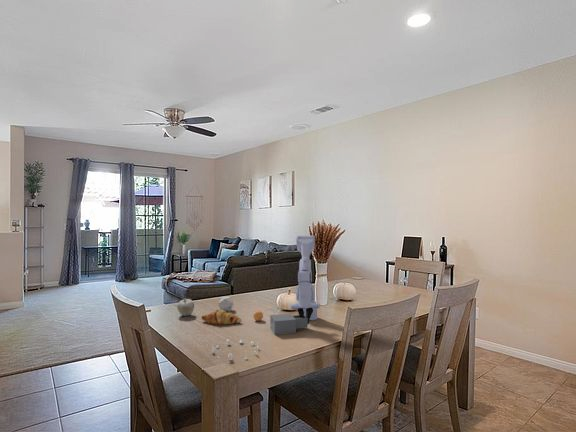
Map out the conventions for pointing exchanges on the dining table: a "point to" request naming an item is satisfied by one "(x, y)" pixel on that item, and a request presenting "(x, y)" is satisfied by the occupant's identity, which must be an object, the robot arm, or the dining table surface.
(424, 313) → the dining table surface
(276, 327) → the grey stepped block
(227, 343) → the game piece set
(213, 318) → the croissant
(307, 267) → the robot arm
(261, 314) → the egg
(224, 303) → the die
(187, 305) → the decorative object
